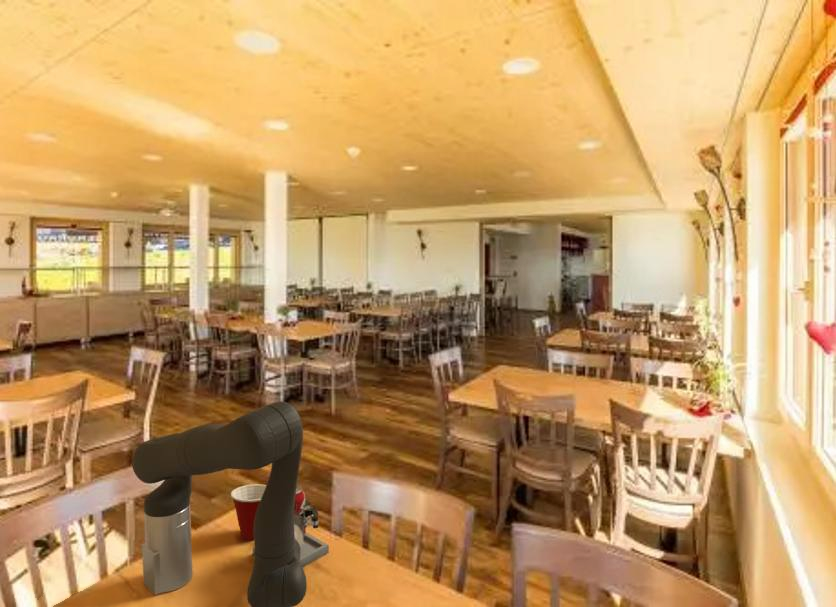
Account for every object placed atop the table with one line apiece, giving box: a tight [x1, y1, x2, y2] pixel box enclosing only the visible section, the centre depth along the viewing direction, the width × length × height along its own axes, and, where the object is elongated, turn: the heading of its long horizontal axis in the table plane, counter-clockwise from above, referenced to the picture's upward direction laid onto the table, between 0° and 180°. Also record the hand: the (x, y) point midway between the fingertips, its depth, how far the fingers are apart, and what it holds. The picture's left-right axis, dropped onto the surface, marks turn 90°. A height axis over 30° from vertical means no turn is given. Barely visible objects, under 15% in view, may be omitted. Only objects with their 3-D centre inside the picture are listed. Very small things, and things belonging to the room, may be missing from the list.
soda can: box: [294, 484, 307, 535], centre depth 126 cm, size 7×7×12 cm
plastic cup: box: [230, 483, 267, 541], centre depth 135 cm, size 11×11×12 cm
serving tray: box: [252, 532, 330, 568], centre depth 127 cm, size 13×13×2 cm
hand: (291, 504), depth 128 cm, fingers closed on soda can, 6 cm apart
